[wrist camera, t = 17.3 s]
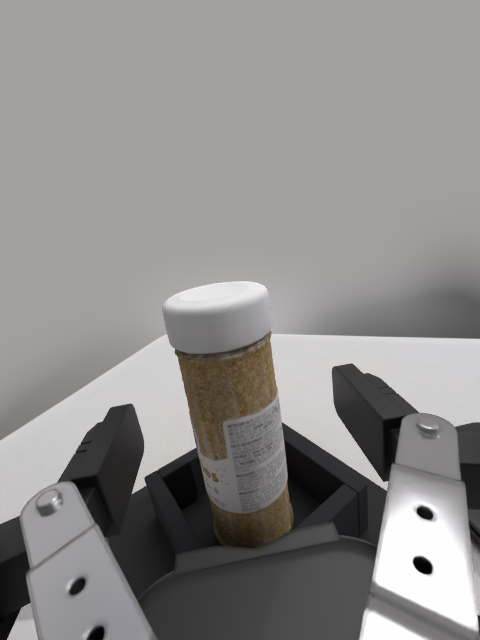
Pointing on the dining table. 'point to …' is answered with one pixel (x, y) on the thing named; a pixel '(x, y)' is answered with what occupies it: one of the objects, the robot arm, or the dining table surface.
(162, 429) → the dining table surface
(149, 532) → the base pad
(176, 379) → the dining table surface
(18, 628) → the dining table surface
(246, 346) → the sprinkles bottle
